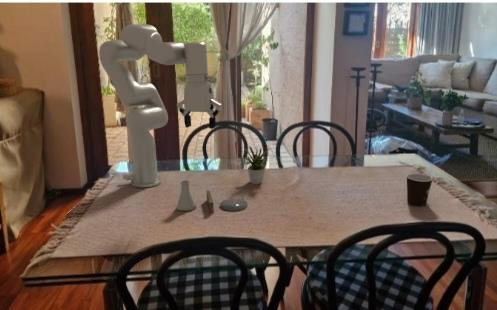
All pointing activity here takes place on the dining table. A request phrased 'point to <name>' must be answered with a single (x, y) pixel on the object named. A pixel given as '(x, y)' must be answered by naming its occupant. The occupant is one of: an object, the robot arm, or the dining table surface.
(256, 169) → the house plant
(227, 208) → the grey flat disc
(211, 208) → the wooden plank
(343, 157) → the dining table surface
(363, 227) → the dining table surface
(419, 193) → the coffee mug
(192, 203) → the flask
